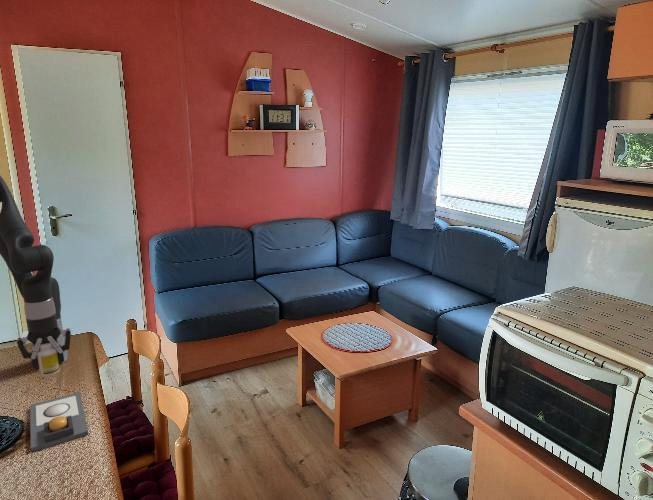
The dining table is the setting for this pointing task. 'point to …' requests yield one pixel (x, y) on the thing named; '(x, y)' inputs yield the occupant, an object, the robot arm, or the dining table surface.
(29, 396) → the dining table surface
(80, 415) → the charcoal board
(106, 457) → the dining table surface
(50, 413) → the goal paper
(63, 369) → the dining table surface
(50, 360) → the supplement bottle
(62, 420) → the button
